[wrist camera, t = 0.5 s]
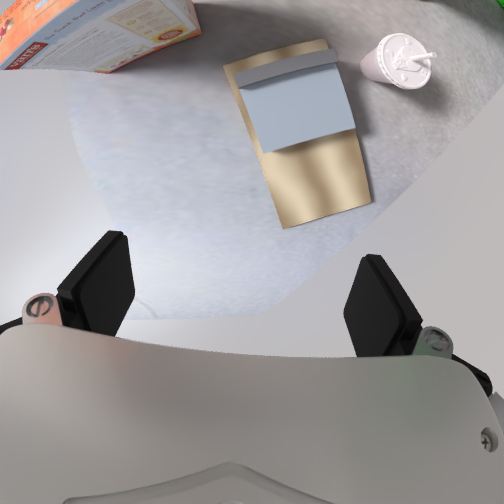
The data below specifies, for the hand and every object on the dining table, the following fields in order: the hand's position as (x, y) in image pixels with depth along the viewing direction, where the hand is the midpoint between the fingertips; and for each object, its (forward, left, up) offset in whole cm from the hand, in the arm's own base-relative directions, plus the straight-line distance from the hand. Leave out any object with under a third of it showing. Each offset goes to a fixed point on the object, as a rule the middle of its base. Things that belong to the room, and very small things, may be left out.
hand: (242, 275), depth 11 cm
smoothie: (-19, -7, -28) cm, 34 cm away
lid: (-7, -5, -26) cm, 27 cm away
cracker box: (+7, -21, -28) cm, 35 cm away
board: (-7, 0, -27) cm, 28 cm away
